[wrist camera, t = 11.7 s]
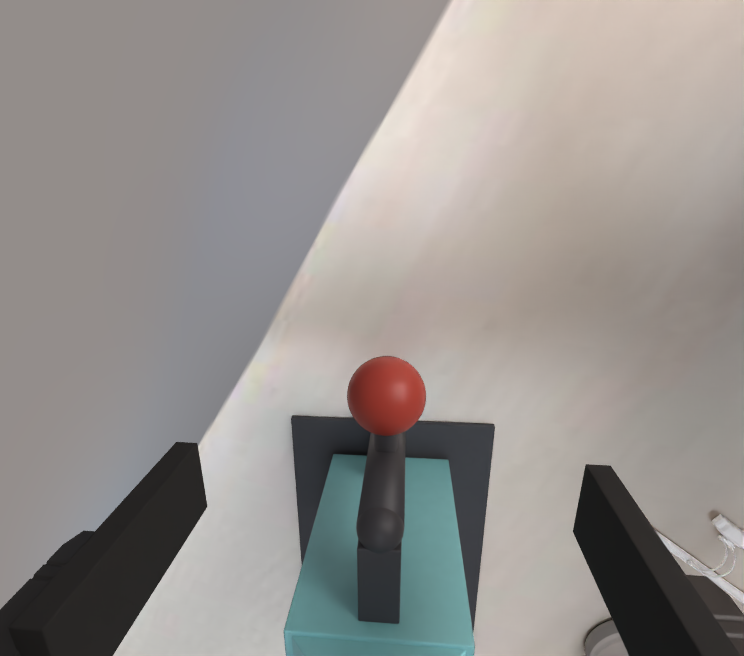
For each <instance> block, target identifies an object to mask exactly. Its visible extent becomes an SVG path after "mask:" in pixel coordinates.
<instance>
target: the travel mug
mask: <svg viewBox="0 0 744 656" xmlns="http://www.w3.org/2000/svg"><path fill="white" fill-rule="evenodd" d="M585 654H586V656H629V655H628V652H627V650H626V648H625V646H624V644H623V641H622V639H621V637H620V635H619V632H618V630H617V628H616V626H615V624H614V621H613V620H610V621H607V622H605V623H603V624H600V625H599V626H598V627H596V628H595V629H594V630H593V631H592V632H591V633H590V634H589V635H588V637H587V639H586V642H585Z"/></svg>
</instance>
